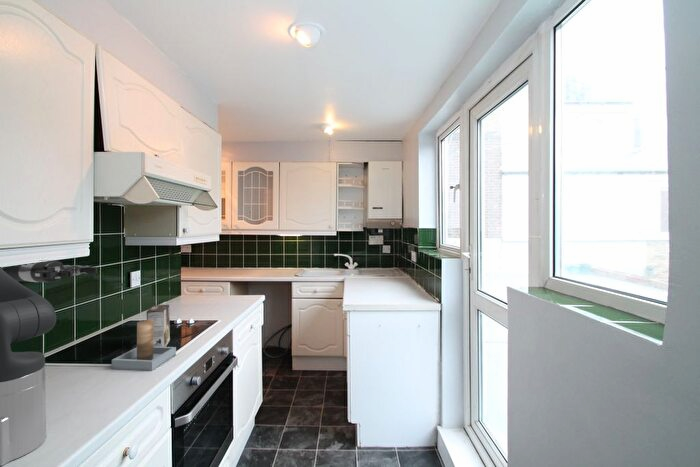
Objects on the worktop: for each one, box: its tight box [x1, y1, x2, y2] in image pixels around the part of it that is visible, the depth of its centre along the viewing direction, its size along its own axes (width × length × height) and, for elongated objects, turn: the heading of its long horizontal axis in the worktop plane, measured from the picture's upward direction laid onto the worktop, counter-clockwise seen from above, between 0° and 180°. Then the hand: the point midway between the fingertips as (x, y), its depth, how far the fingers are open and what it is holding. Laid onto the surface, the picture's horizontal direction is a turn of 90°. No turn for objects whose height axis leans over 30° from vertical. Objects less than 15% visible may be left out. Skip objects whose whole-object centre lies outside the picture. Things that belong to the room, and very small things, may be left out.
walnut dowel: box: [136, 319, 154, 360], centre depth 105 cm, size 5×5×14 cm
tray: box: [111, 346, 177, 372], centre depth 105 cm, size 12×15×3 cm
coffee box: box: [146, 304, 171, 347], centre depth 119 cm, size 9×6×16 cm
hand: (84, 272), depth 99 cm, fingers open, 8 cm apart
